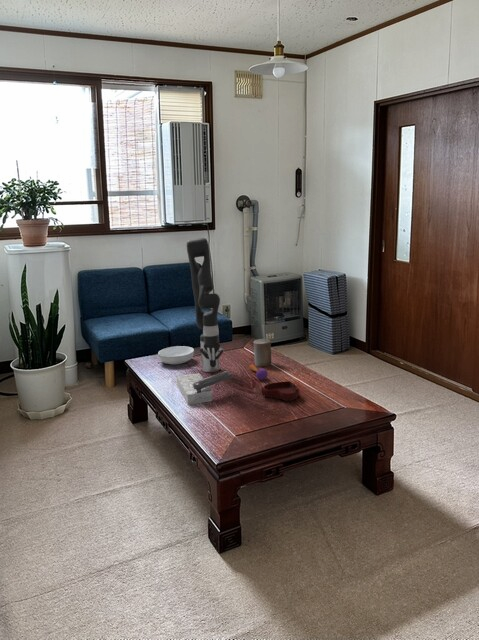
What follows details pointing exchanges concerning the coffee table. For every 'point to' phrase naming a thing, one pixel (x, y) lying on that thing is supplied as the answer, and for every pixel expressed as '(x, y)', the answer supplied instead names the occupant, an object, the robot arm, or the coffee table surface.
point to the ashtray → (281, 390)
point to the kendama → (259, 372)
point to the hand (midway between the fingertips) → (213, 366)
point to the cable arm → (212, 380)
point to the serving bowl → (176, 354)
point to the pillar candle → (262, 352)
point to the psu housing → (189, 392)
